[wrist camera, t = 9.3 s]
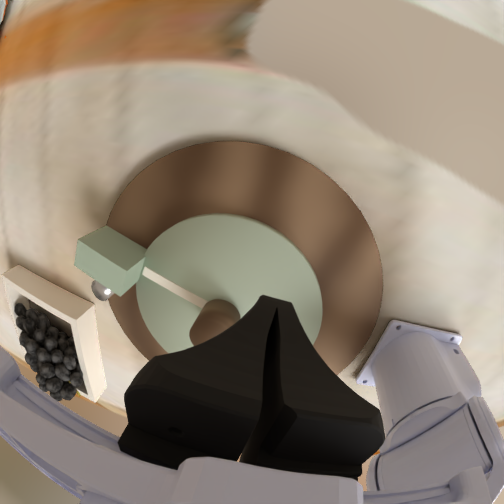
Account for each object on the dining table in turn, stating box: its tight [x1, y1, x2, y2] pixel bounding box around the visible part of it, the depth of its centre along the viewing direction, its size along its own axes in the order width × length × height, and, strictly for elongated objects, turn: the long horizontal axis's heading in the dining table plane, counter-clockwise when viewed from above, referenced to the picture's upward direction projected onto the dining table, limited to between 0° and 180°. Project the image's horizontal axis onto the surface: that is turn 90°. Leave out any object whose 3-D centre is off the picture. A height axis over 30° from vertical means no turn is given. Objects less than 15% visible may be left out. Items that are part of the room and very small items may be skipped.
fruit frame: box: [2, 265, 107, 403], centre depth 29 cm, size 15×15×4 cm
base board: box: [107, 141, 383, 375], centre depth 21 cm, size 25×25×6 cm
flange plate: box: [74, 213, 322, 353], centre depth 20 cm, size 20×15×4 cm
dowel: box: [91, 280, 114, 301], centre depth 22 cm, size 2×2×5 cm
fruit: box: [14, 303, 84, 401], centre depth 27 cm, size 9×8×15 cm
